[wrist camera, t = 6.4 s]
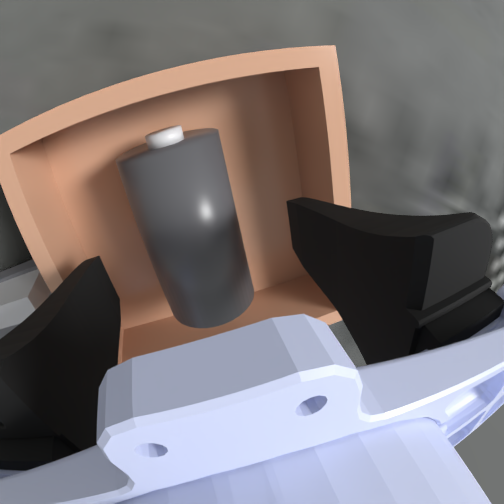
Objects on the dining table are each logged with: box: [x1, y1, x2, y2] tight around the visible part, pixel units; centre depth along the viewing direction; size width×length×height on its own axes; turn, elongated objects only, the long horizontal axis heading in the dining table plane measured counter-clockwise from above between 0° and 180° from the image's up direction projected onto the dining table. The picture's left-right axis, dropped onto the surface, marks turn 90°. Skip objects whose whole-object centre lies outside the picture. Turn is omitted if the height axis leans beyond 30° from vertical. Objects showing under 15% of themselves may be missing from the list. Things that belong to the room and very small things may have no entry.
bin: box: [0, 45, 351, 365], centre depth 14 cm, size 13×13×4 cm
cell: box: [115, 125, 254, 328], centre depth 13 cm, size 8×4×4 cm, turn 10°
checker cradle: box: [0, 260, 52, 339], centre depth 15 cm, size 12×7×4 cm, turn 10°
